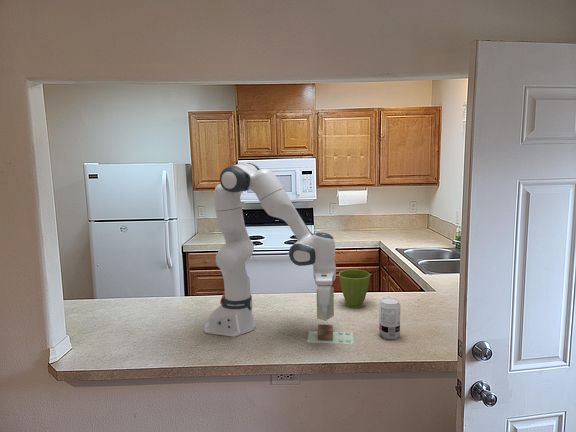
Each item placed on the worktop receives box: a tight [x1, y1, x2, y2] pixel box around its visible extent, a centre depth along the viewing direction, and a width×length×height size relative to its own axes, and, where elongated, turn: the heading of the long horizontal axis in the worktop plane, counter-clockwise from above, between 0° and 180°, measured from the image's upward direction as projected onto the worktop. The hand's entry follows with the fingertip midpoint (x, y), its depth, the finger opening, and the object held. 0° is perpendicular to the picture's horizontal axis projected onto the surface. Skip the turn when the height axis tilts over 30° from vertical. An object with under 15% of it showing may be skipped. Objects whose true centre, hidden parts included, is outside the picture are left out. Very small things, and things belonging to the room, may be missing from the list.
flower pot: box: [338, 269, 371, 309], centre depth 198 cm, size 15×15×16 cm
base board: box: [307, 330, 354, 345], centre depth 163 cm, size 18×10×2 cm, turn 83°
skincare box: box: [316, 286, 335, 322], centre depth 161 cm, size 6×4×12 cm
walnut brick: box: [317, 323, 334, 341], centre depth 163 cm, size 6×6×4 cm
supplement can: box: [378, 297, 401, 340], centre depth 165 cm, size 8×8×15 cm
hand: (325, 307), depth 161 cm, fingers closed on skincare box, 7 cm apart
